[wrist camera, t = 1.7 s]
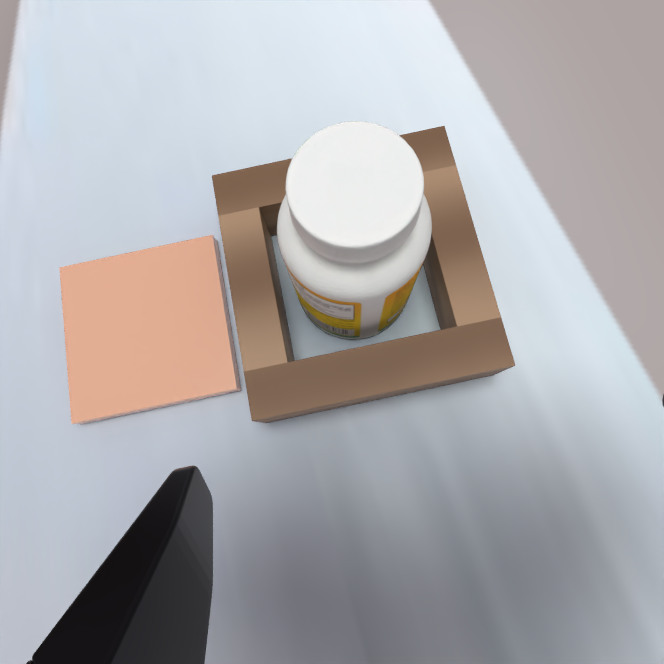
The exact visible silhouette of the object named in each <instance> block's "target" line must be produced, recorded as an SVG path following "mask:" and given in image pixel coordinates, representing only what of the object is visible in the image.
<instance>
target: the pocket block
mask: <svg viewBox="0 0 664 664" xmlns="http://www.w3.org/2000/svg"><path fill="white" fill-rule="evenodd" d="M399 136H400V137H401V138H403V139H404V140H405V141H406V142H407V143H408V145H409V146H410V147H411V148H412V149H413V150H414V152H415V154H416V156H417V158H418V159H419V162H420V164H421V167H422V171H423V177H424V195H425V198H426V200H427V203H428V206H429V209H430V213H431V221H432V232H431V240H430V245H429V248H428V252H427V254H426V257H425V259H424V262H423V265H424V268H425V272H426V276H427V280H428V283H429V287H430V291H431V295H432V299H433V302H434V306H435V310H436V314H437V318H438V321H439V325H440V329H441V330H438V331H434V332H429V333H424V334H419V335H415V336H410V337H405V338H400V339H396V340H391V341H386V342H382V343H377V344H372V345H367V346H363V347H358V348H353V349H348V350H344V351H339V352H334V353H330V354H325V355H320V356H315V357H311V358H306V359H301V360H296V361H294V355H293V350H292V345H291V339H290V334H289V329H288V324H287V318H286V313H285V308H284V302H283V297H282V292H281V287H280V281H279V276H278V271H277V265H276V260H275V255H274V250H273V244H272V239H271V236H272V235H277V222H278V214H279V210H280V207H281V204H282V201H283V199H284V197H285V195H286V177H287V172H288V168H289V165H290V163H291V160H292V159H287V160H283V161H278V162H273V163H269V164H264V165H259V166H255V167H250V168H245V169H241V170H236V171H231V172H227V173H222V174H217V175H213V176H212V180H213V186H214V192H215V198H216V204H217V210H218V216H219V222H220V229H221V235H222V241H223V247H224V253H225V259H226V265H227V271H228V278H229V284H230V290H231V296H232V302H233V308H234V314H235V320H236V326H237V333H238V339H239V345H240V351H241V357H242V363H243V369H244V375H245V382H246V388H247V394H248V400H249V406H250V412H251V418H252V421H256V422H263V423H268V422H273V421H278V420H283V419H287V418H292V417H297V416H302V415H306V414H311V413H316V412H321V411H325V410H330V409H335V408H340V407H344V406H349V405H354V404H359V403H363V402H368V401H373V400H378V399H382V398H387V397H392V396H397V395H401V394H406V393H411V392H416V391H420V390H425V389H430V388H434V387H439V386H444V385H449V384H453V383H458V382H463V381H468V380H472V379H477V378H482V377H487V376H491V375H495V374H497V373H499V372H502V371H504V370H506V369H508V368H510V367H513V366H515V363H514V360H513V356H512V353H511V350H510V346H509V343H508V339H507V336H506V333H505V329H504V326H503V323H502V319H501V316H500V312H499V309H498V306H497V302H496V299H495V296H494V292H493V289H492V285H491V282H490V279H489V275H488V272H487V269H486V265H485V262H484V258H483V255H482V252H481V248H480V245H479V241H478V238H477V235H476V231H475V228H474V225H473V221H472V218H471V214H470V211H469V208H468V204H467V201H466V198H465V194H464V191H463V187H462V184H461V181H460V177H459V174H458V171H457V167H456V164H455V160H454V157H453V154H452V150H451V147H450V144H449V140H448V137H447V133H446V130H445V127H444V126H441V127H437V128H432V129H427V130H423V131H418V132H413V133H409V134H404V135H399Z"/></svg>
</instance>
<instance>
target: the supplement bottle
mask: <svg viewBox="0 0 664 664" xmlns="http://www.w3.org/2000/svg"><path fill="white" fill-rule="evenodd" d="M431 232H432V221H431V213H430V209H429V206H428V203H427V200H426V198H425V195H424V177H423V171H422V167H421V164H420V162H419V159H418V158H417V156H416V154H415V152H414V150H413V149H412V148H411V147H410V146H409V145H408V143H407V142H406V141H405V140H404V139H403V138H401V137H400V136H399V135H398V134H396V133H395V132H393V131H391V130H389V129H387V128H385V127H383V126H380V125H377V124H373V123H369V122H358V121H355V122H344V123H339V124H335V125H332V126H329V127H326V128H324V129H322V130H320V131H318V132H317V133H315V134H314V135H312V136H311V137H310V138H309V139H308V140H306V141H305V142H304V144H303V145H302V146H301V147H300V148H299V149H298V150H297V152H296V153H295V155H294V157H293V158H292V160H291V163H290V165H289V168H288V172H287V177H286V195H285V197H284V199H283V201H282V204H281V207H280V210H279V214H278V222H277V237H278V243H279V248H280V251H281V254H282V257H283V260H284V262H285V265H286V268H287V270H288V273H289V275H290V278H291V280H292V283H293V286H294V288H295V291H296V293H297V296H298V298H299V301H300V303H301V306H302V308H303V310H304V311H305V313H306V315H307V316H308V317H309V319H310V320H311V321H312V322H313V323H314V324H315V325H316V326H317V327H319V328H320V329H321V330H323V331H325V332H327V333H328V334H330V335H333V336H336V337H339V338H344V339H362V338H367V337H370V336H374V335H376V334H378V333H380V332H382V331H384V330H385V329H387V328H388V327H389V326H390V325H391V324H392V323H393V322H394V321H395V320H396V319H397V318H398V317H399V315H400V314H401V312H402V311H403V309H404V307H405V305H406V303H407V300H408V298H409V296H410V293H411V291H412V288H413V286H414V283H415V281H416V278H417V276H418V273H419V271H420V269H421V267H422V264H423V262H424V259H425V257H426V254H427V252H428V248H429V245H430V240H431Z"/></svg>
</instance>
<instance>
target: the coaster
mask: <svg viewBox="0 0 664 664" xmlns="http://www.w3.org/2000/svg"><path fill="white" fill-rule="evenodd" d="M60 280H61V293H62V305H63V318H64V331H65V344H66V357H67V370H68V382H69V395H70V408H71V421H72V424H85V423H90V422H94V421H99V420H104V419H109V418H113V417H118V416H123V415H128V414H132V413H137V412H142V411H146V410H151V409H156V408H161V407H165V406H170V405H175V404H180V403H184V402H189V401H194V400H199V399H203V398H208V397H213V396H217V395H222V394H227V393H232V392H236V391H241V387H240V380H239V374H238V368H237V362H236V355H235V349H234V343H233V337H232V331H231V324H230V318H229V312H228V306H227V299H226V293H225V287H224V281H223V275H222V268H221V262H220V256H219V250H218V243H217V241H216V239H215V238H214V236H213V235H210V236H205V237H201V238H196V239H191V240H186V241H182V242H177V243H172V244H168V245H163V246H158V247H154V248H149V249H144V250H140V251H135V252H130V253H126V254H121V255H116V256H111V257H107V258H102V259H97V260H93V261H88V262H83V263H79V264H74V265H69V266H65V267H60Z"/></svg>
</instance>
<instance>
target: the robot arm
mask: <svg viewBox="0 0 664 664" xmlns="http://www.w3.org/2000/svg"><path fill="white" fill-rule="evenodd" d="M663 406H664V395H663ZM212 586H213V502H212V496H211V493H210V491H209V489H208V487H207V485H206V483H205V481H204V479H203V476H202V474H201V472H200V470H199V469H198V468H197V467H196V466H188V467H184V468H179V469H176V470H174V471H173V472H172V473H171V474H170V475H169V476H168V478H167V479H166V480H165V482H164V483H163V484H162V486H161V487H160V488H159V490H158V491H157V492H156V494H155V495H154V496H153V497H152V499H151V500H150V501H149V503H148V504H147V505H146V507H145V508H144V509H143V511H142V512H141V513H140V515H139V516H138V517H137V519H136V520H135V521H134V523H133V524H132V525H131V526H130V528H129V529H128V530H127V532H126V533H125V534H124V536H123V537H122V538H121V540H120V541H119V542H118V544H117V545H116V546H115V548H114V549H113V550H112V552H111V553H110V554H109V555H108V557H107V558H106V559H105V561H104V562H103V563H102V565H101V566H100V567H99V569H98V570H97V571H96V573H95V574H94V575H93V577H92V578H91V579H90V581H89V582H88V583H87V584H86V586H85V587H84V588H83V590H82V591H81V592H80V594H79V595H78V596H77V598H76V599H75V600H74V602H73V603H72V604H71V606H70V607H69V608H68V610H67V611H66V612H65V613H64V615H63V616H62V617H61V619H60V620H59V621H58V623H57V624H56V625H55V627H54V628H53V629H52V631H51V632H50V633H49V635H48V636H47V637H46V639H45V640H44V641H43V642H42V644H41V645H40V646H39V648H38V649H37V650H36V652H35V653H34V654H33V657H32V660H30V661H28V662H27V663H26V664H204V662H205V653H206V644H207V635H208V626H209V617H210V607H211V598H212Z"/></svg>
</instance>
